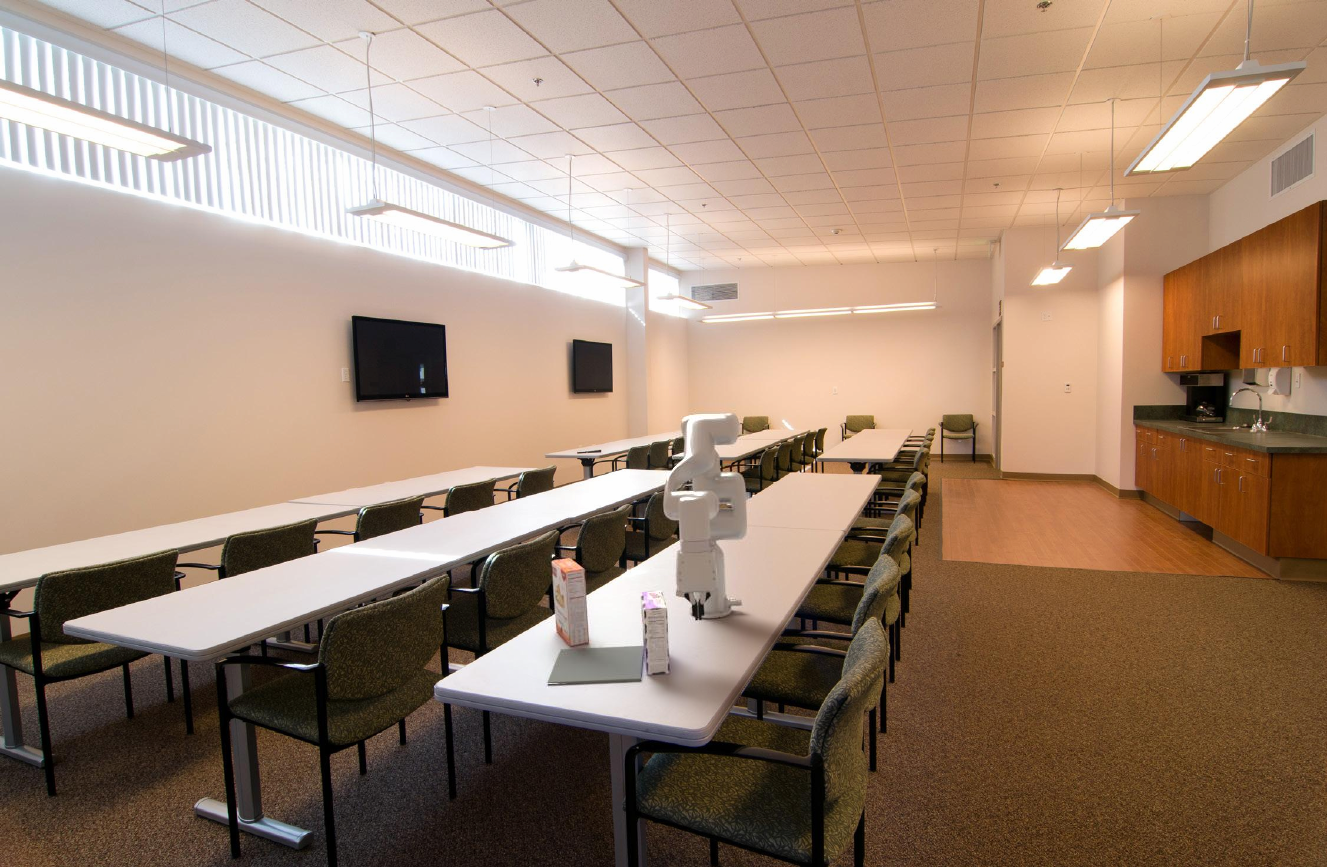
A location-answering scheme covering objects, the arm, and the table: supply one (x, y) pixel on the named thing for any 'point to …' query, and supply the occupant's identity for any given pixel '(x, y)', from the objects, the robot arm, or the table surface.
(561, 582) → the cracker box
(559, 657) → the rubber mat
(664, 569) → the table surface
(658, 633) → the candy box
